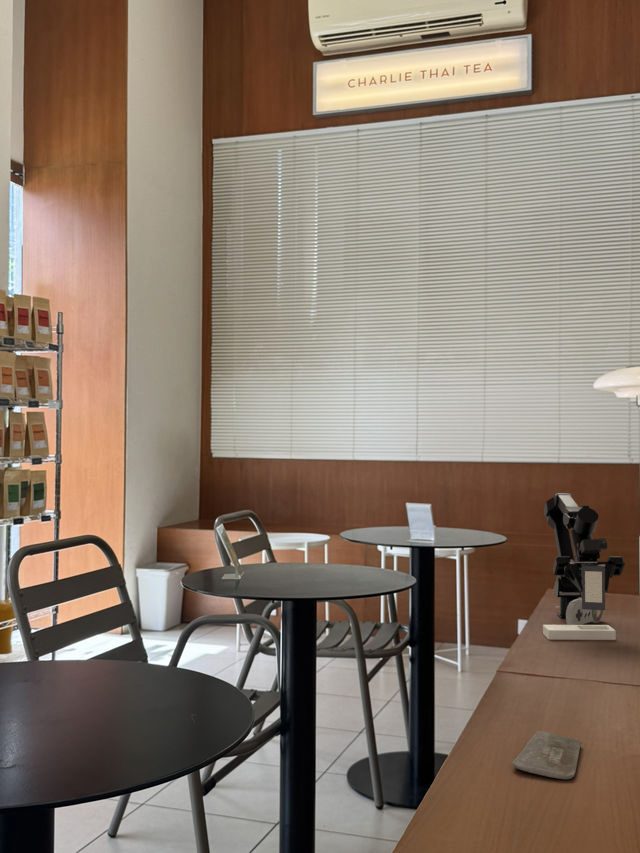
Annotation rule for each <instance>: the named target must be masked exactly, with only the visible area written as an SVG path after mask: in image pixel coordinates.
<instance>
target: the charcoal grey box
mask: <svg viewBox="0 0 640 853" xmlns="http://www.w3.org/2000/svg"><path fill="white" fill-rule="evenodd" d="M581 583H582V588H583V591H582V597H581V598H582V609H586V610H603V611H606V591H605V566H604V565H599V564H581Z"/></svg>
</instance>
